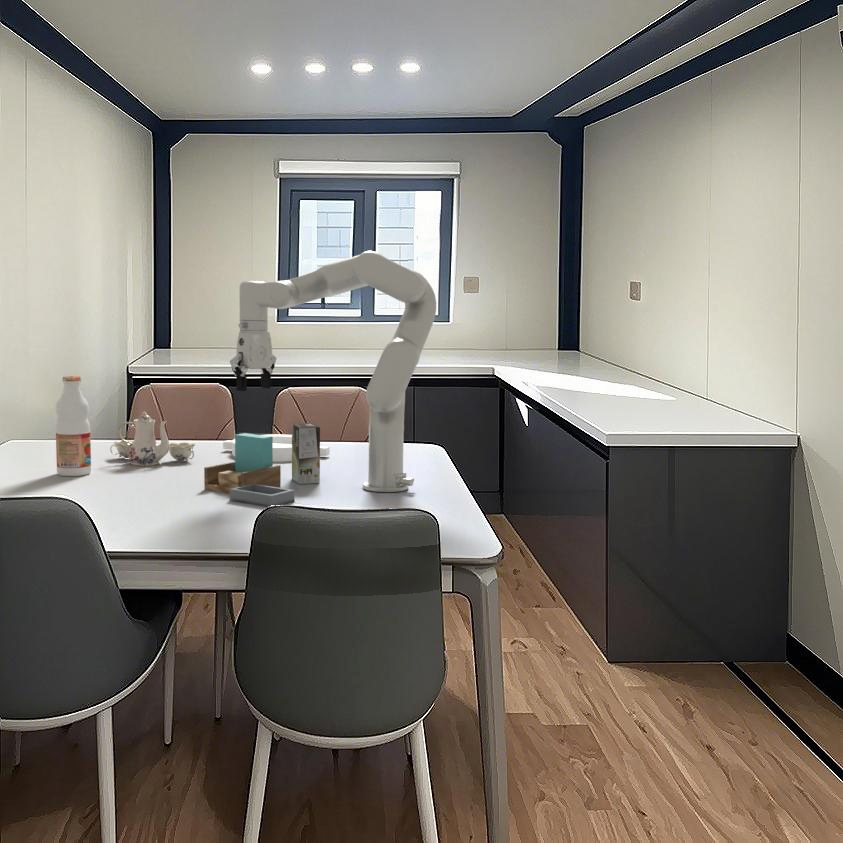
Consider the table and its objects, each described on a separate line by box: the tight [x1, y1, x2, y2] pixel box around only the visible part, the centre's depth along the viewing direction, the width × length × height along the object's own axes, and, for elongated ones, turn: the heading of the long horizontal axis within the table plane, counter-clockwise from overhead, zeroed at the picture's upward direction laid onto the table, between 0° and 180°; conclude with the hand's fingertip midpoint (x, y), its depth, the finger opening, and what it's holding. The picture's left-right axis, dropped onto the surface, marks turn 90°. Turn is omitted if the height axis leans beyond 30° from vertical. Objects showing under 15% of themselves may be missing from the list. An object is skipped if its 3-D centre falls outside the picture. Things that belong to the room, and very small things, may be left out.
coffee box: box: [291, 422, 321, 485], centre depth 300 cm, size 9×6×16 cm
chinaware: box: [109, 410, 196, 467], centre depth 326 cm, size 28×17×17 cm, turn 84°
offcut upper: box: [218, 471, 241, 485], centre depth 285 cm, size 7×4×2 cm, turn 58°
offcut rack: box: [203, 461, 282, 495], centre depth 288 cm, size 14×15×6 cm
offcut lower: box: [219, 482, 241, 488], centre depth 286 cm, size 7×4×2 cm, turn 58°
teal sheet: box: [234, 432, 274, 473], centre depth 292 cm, size 10×4×14 cm, turn 58°
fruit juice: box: [55, 375, 92, 477], centre depth 303 cm, size 9×9×28 cm
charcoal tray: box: [229, 484, 296, 508], centre depth 273 cm, size 14×9×3 cm, turn 58°
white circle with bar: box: [222, 433, 331, 463], centre depth 345 cm, size 28×28×5 cm
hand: (253, 389), depth 291 cm, fingers open, 9 cm apart
